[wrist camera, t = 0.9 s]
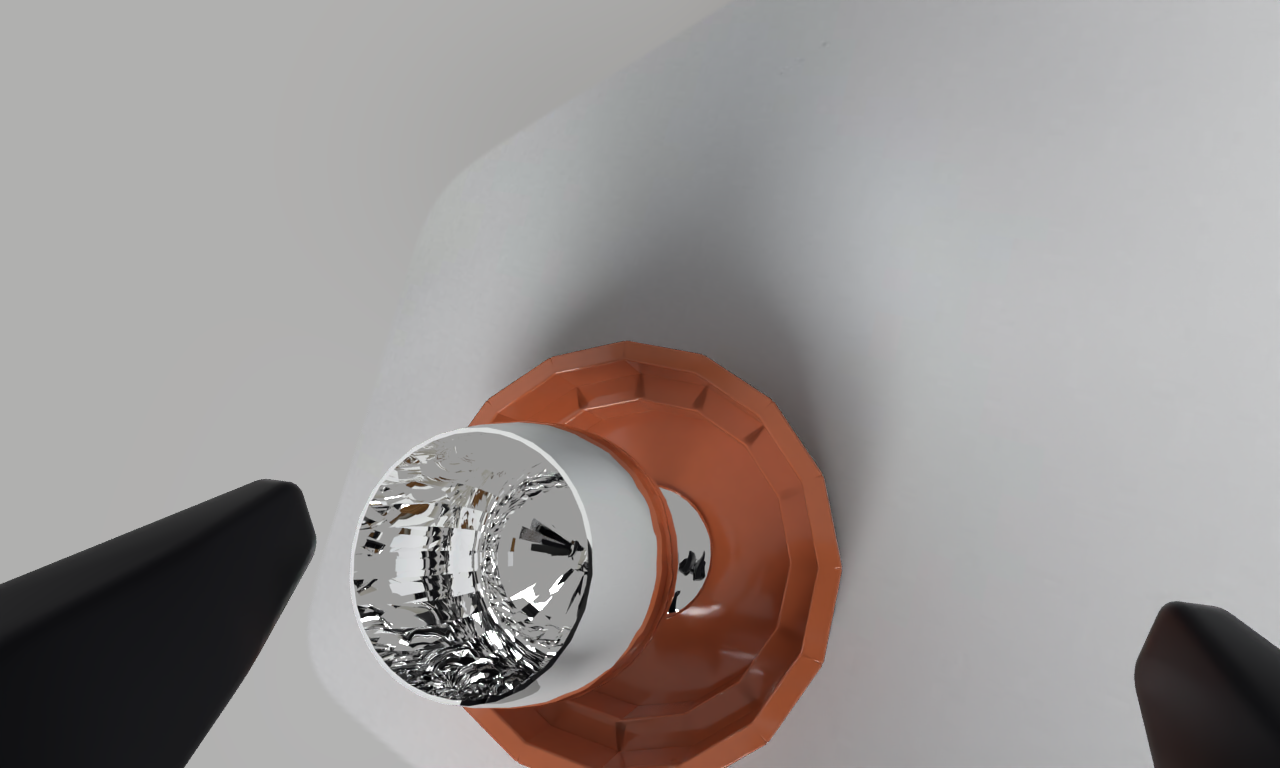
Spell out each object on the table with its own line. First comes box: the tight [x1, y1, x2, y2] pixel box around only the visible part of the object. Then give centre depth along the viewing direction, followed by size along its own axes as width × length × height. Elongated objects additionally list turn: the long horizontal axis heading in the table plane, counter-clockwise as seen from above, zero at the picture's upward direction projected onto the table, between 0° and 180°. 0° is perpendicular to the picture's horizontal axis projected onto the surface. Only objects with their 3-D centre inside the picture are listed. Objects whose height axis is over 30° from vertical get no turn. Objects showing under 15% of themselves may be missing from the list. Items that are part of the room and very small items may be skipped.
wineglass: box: [350, 420, 713, 710], centre depth 18 cm, size 6×6×12 cm
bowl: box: [463, 341, 842, 768], centre depth 22 cm, size 12×12×4 cm
